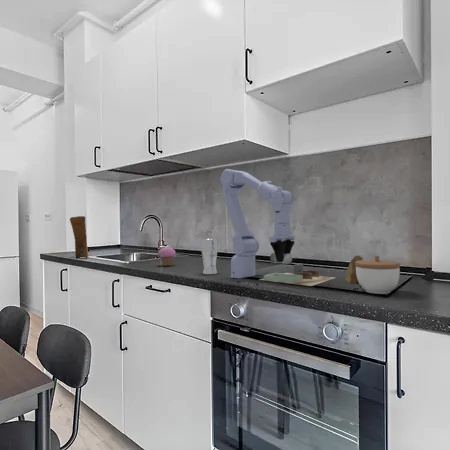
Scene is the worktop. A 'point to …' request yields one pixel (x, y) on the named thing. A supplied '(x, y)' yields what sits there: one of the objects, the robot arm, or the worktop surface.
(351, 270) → the rock
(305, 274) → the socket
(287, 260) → the grey cylinder
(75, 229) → the pancake mix bag
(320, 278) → the board
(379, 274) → the lidded bowl
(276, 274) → the tray
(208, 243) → the beer glass
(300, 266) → the grey stepped block
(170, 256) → the cupcake
